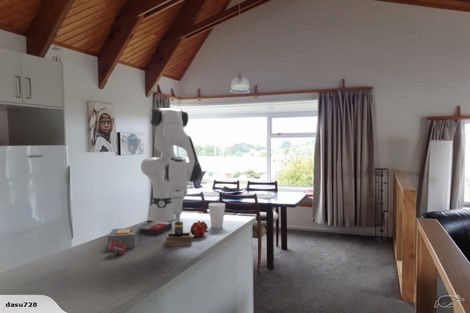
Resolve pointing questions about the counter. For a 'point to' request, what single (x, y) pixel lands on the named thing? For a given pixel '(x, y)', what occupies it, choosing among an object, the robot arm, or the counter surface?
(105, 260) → the counter surface
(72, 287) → the counter surface
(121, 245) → the geometric puzzle
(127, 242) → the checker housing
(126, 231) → the button
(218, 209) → the foam cup
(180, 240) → the box
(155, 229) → the calculator
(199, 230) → the dragon fruit
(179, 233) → the battery cell
